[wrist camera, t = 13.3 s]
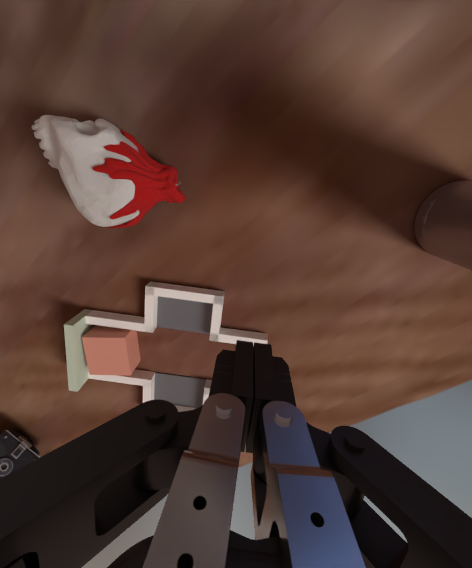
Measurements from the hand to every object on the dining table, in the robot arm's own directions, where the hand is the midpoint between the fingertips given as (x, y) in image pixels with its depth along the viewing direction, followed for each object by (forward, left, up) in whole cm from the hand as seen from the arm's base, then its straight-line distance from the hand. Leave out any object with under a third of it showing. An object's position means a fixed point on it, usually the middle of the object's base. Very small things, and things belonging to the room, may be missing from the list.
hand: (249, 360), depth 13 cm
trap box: (+9, +18, -27) cm, 34 cm away
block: (+18, +18, -27) cm, 37 cm away
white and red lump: (+16, -6, -27) cm, 32 cm away
